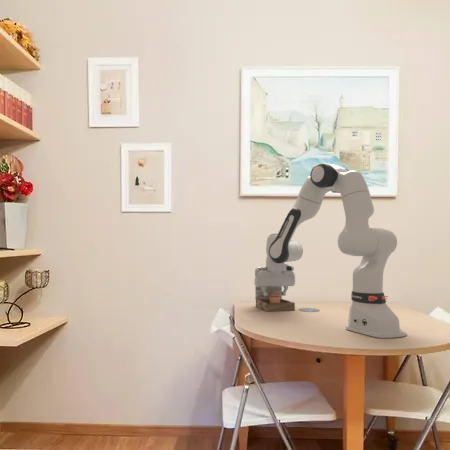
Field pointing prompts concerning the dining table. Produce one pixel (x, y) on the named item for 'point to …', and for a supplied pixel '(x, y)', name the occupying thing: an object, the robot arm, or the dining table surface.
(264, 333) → the dining table surface
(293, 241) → the robot arm
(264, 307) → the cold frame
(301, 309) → the grey flat disc
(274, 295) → the orange cylinder
